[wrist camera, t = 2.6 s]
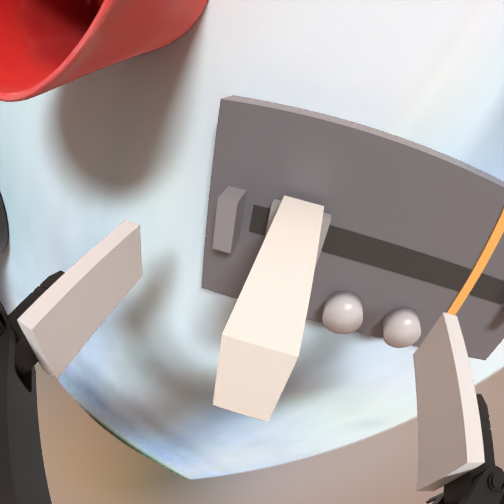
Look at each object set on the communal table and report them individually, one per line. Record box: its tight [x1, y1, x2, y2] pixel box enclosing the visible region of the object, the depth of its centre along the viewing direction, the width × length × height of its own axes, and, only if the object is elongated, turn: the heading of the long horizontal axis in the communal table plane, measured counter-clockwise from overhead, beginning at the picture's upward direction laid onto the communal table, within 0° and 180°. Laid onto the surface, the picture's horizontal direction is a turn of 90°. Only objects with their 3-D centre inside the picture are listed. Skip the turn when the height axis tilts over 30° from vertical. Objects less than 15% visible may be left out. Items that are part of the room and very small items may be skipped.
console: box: [202, 96, 504, 360], centre depth 16 cm, size 22×12×4 cm, turn 81°
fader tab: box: [213, 195, 332, 421], centre depth 13 cm, size 3×4×10 cm
